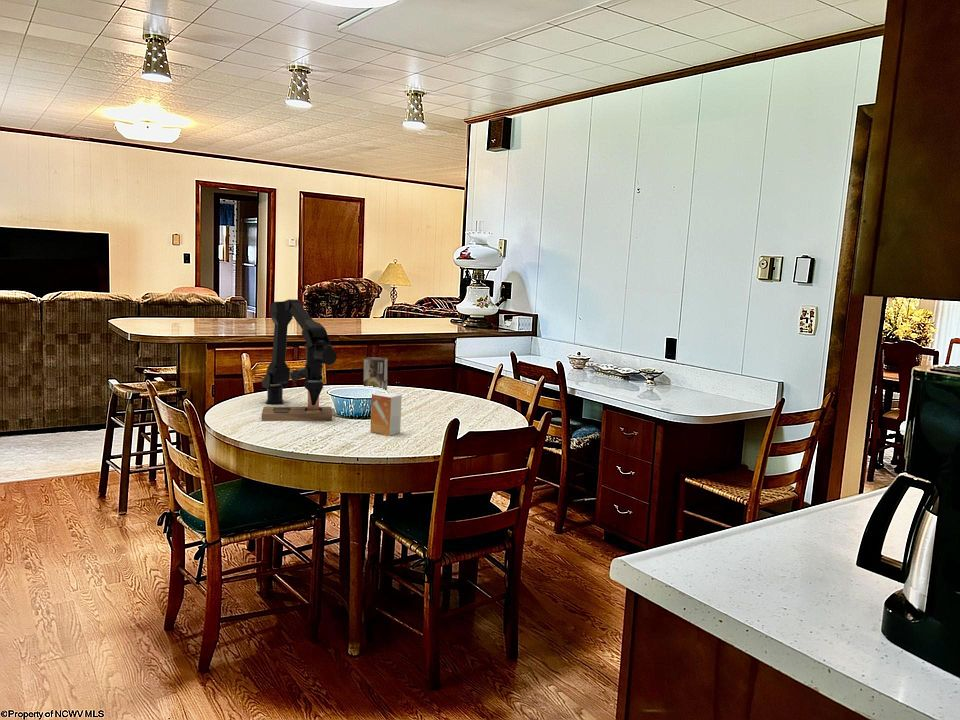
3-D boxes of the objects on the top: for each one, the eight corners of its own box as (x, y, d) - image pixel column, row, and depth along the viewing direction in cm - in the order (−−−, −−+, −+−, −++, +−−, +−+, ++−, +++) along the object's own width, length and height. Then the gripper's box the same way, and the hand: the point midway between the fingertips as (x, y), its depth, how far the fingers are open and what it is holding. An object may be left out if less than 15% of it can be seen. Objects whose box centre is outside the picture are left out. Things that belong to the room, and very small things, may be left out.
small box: (369, 432, 247) (371, 394, 245) (381, 429, 252) (382, 391, 251) (389, 436, 243) (391, 397, 241) (400, 432, 248) (402, 394, 247)
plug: (307, 409, 268) (307, 387, 267) (318, 409, 269) (319, 387, 267) (307, 411, 264) (307, 389, 263) (318, 411, 265) (319, 389, 264)
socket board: (263, 413, 267) (263, 405, 267) (331, 413, 273) (331, 405, 272) (261, 420, 256) (261, 412, 255) (332, 420, 261) (332, 412, 261)
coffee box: (387, 395, 314) (388, 358, 311) (383, 398, 307) (385, 359, 305) (366, 394, 314) (367, 356, 312) (362, 396, 308) (363, 358, 306)
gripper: (291, 357, 271) (291, 398, 273) (290, 364, 253) (289, 409, 255) (322, 357, 273) (321, 399, 276) (323, 365, 255) (322, 409, 258)
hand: (313, 403), depth 266 cm, fingers closed on plug, 4 cm apart
